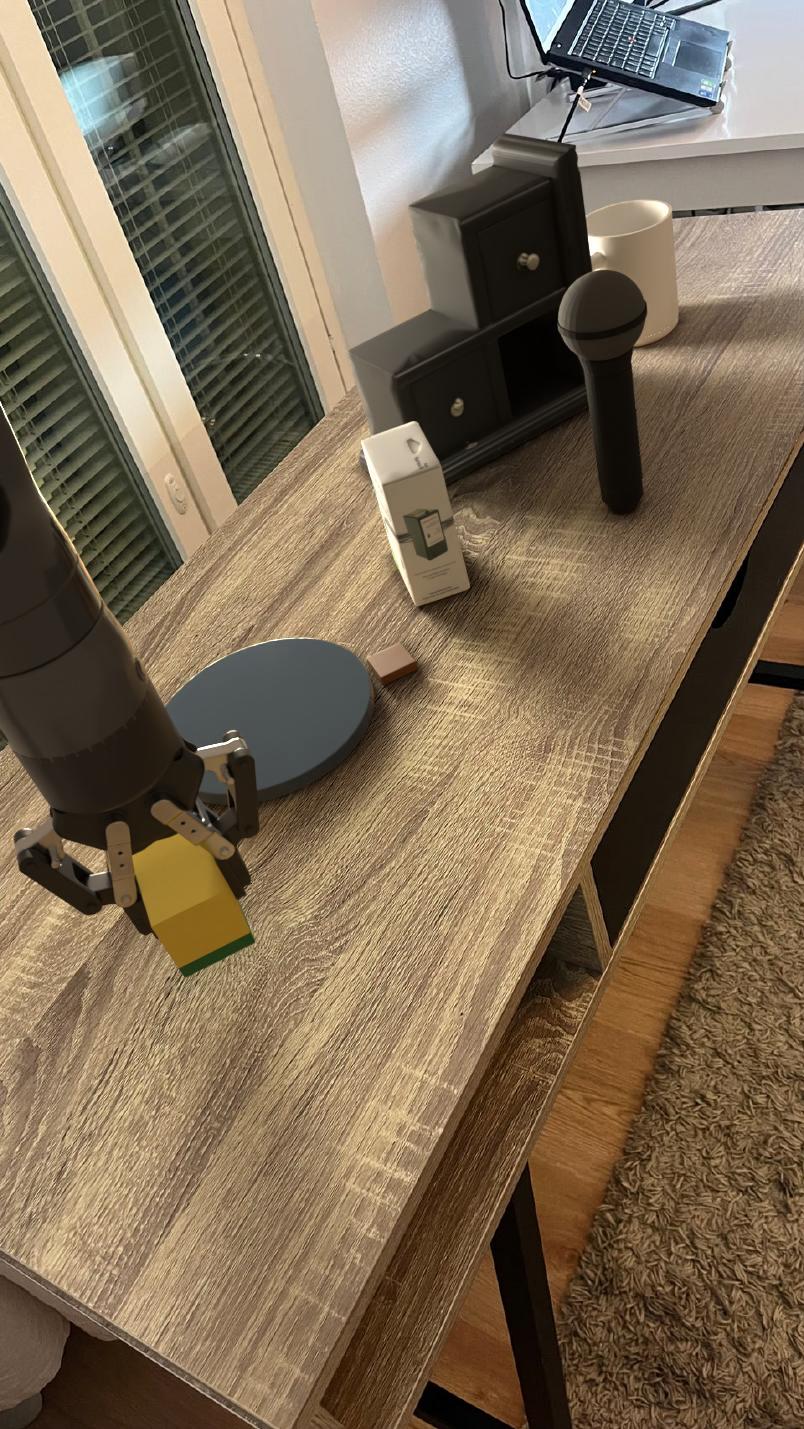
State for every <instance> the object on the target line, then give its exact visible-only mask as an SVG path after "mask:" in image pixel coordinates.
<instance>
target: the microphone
mask: <svg viewBox="0 0 804 1429" xmlns="http://www.w3.org/2000/svg"><path fill="white" fill-rule="evenodd" d="M647 313H648V312H647V304H646V301H645V300H644V297H643V295H642V293H641V290H640V289H639V288H638V286H637V285H636V284H635V282H634V281H633V280H631V279H630V278H629V277H628V276H626V275H624V274H622V273H620V272H617V271H613V270H596V271H592V272H589V273H587V274H585V275H583V276H582V277H580V278H579V279H577V280H576V281H575V282H574V283H573V284H572V285H571V286H570V287H569V289H568V290H567V292H566V293H565V295H564V297H563V299H562V302H561V305H560V308H559V314H558V319H557V324H558V330H559V332H560V334H561V336H562V338H563V340H564V342H565V343H566V345H567V346H568V347H569V348H570V350H571V351H573V352H574V353H575V354H577V355H578V357H579V360H580V362H581V364H582V366H583V369H584V374H585V382H586V390H587V397H588V405H589V407H588V411H589V412H588V413H589V420H590V427H591V435H592V442H593V449H594V457H595V464H596V472H597V481H598V485H599V490H600V498H601V502H602V503H603V504H604V505H605V507H607V509H608V510H609V511H610V512H611V513H612V514H613V515H616V516H627V515H630V514H632V513H634V512H635V511H636V510H637V509H638V507H639V505H640V503H641V501H642V499H643V497H644V496H645V491H644V480H643V479H644V474H643V463H642V454H641V445H640V444H641V443H640V435H639V423H638V414H637V404H636V393H635V383H634V373H633V364H632V363H633V362H632V360H633V352H634V348H635V347H634V345H635V343H636V342H637V340H638V339H639V337H640V336H641V333H642V331H643V328H644V324H645V320H646V317H647Z"/></svg>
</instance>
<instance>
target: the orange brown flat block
mask: <svg viewBox="0 0 804 1429" xmlns="http://www.w3.org/2000/svg"><path fill="white" fill-rule="evenodd" d="M366 662H367V665H368V667H369V668H370V670H371V671H372V672H373V673H374V675H375V676H376V678H377V679H378V680H379V682H380V684H382V686H385V685H387V684H390V683H391V682H394V681H395V680H398V679H400V678H402V677H404V676H406V675H408V674H411V673H412V672H415V671H417V670H419V667H418V663H417V660H416V659H415V658H414V656H413V655H412V654H411V653H410V652H409V650H408V649H407V648H406V647H405V646H404V644H403V643H402V642H401V641H399V642H397V643H395V644H393V645H391V646H388V647H386V648H385V649H383V650H380V651H377V652H376V653H374V654H372V655H370V656H368V657H366Z"/></svg>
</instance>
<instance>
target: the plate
mask: <svg viewBox="0 0 804 1429" xmlns="http://www.w3.org/2000/svg"><path fill="white" fill-rule="evenodd" d="M375 703H376V698H375V689H374V686H373V682H372V680H371V676H370V673H369V671H368V669H367V667H366V666H365V664H364V663H363V661H362V660H361V659H360V658H359V657H358V656H357V655H356V654H355V653H353V652H352V651H351V650H349V649H348V648H346V647H344V646H342V645H340V644H337V643H335V642H332V641H328V640H324V639H319V638H313V637H312V638H311V637H289V638H288V637H287V638H280V639H279V638H278V639H273V640H268V641H264V642H259V643H256V644H252V645H250V646H247V647H244V648H241V649H238V650H236V651H234V652H231V653H229V654H227V655H225V656H223V657H221V658H219V659H217V660H216V661H214V662H212V663H211V664H209V665H207V666H205V667H204V668H203V669H201V670H200V671H199V672H197V673H196V674H195V675H193V676H192V677H191V678H189V679H188V680H187V681H186V682H185V683H184V684H183V685H182V686H181V687H180V688H179V689H178V690H177V691H176V693H174V695H173V696H172V697H171V698H170V700H169V701H168V702H167V704H166V705H165V708H166V710H167V712H168V713H169V715H170V717H171V719H172V721H173V723H174V725H175V727H176V729H177V730H178V732H179V734H180V735H181V736H182V737H183V738H184V739H185V740H187V741H189V742H191V743H193V744H194V745H195V746H196V747H197V748H198V749H199V748H204V747H208V746H213V745H217V744H222V737H223V736H224V735H225V734H226V733H227V732H229V731H233V730H236V731H239V732H240V733H241V734H242V736H243V738H244V740H245V742H246V744H247V746H248V748H249V750H250V752H251V754H252V756H253V758H254V760H255V771H256V784H257V797H258V803H262V802H267V801H272V800H274V799H277V798H280V797H284V796H287V795H289V794H291V793H294V792H296V791H298V790H301V789H303V788H305V787H307V786H309V785H310V784H312V783H314V782H316V781H317V780H319V779H321V778H322V777H324V776H325V775H327V774H328V773H329V772H331V771H333V769H335V768H336V767H337V766H338V765H340V764H341V763H342V762H343V761H344V760H345V759H346V758H347V757H348V756H349V755H350V754H351V753H352V752H353V750H354V749H355V748H356V747H357V746H358V745H359V743H360V742H361V740H362V739H363V737H364V736H365V734H366V732H367V731H368V728H369V726H370V724H371V721H372V719H373V714H374V711H375ZM198 797H199V798H200V799H201V801H202V802H203V803H206V804H211V805H219V806H228V801H227V791H226V783H222V782H220V781H219V780H218V779H217V777H216V775H215V773H213V772H211V771H205V773H204V776H203V779H202V783H201V786H200V789H199V792H198Z"/></svg>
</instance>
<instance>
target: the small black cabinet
mask: <svg viewBox="0 0 804 1429" xmlns="http://www.w3.org/2000/svg"><path fill="white" fill-rule="evenodd" d="M491 151H492V152H491V156H492V159H493V164H492V165H491V166H488V167H486V168H484V169H482V170H479V171H478V172H475V173H473V174H472V175H469V176H467V177H464V178H463V179H460V180H458V181H456V182H454V183H452V184H449V185H448V186H446V187H444V188H441V189H439V190H437V191H435V192H433V193H430V194H428V195H426V196H424V197H421V198H420V199H418V200H416V201H415V200H414V201H413V202H411V203H409V204H408V205H407V211H408V216H409V221H410V225H411V226H410V227H411V229H412V230H411V231H412V235H413V239H414V243H415V248H416V253H417V255H418V260H419V265H420V269H421V272H422V278H423V282H424V286H425V290H426V295H427V296H426V297H427V300H428V304H429V309H427V310H425V311H422V312H421V313H419V314H418V315H416V316H413V317H411V318H409V319H407V320H405V321H403V322H401V323H399V324H397V325H395V326H394V327H391V328H389V329H387V330H386V331H384V332H381V333H379V334H377V335H376V336H373V337H371V338H370V339H368V340H365V341H364V342H361V343H360V344H357V345H355V346H354V347H352V348H350V349H348V350H347V351H346V353H347V358H348V362H349V365H350V367H351V372H352V375H353V379H354V383H355V386H356V389H357V392H358V396H359V399H360V401H361V405H362V406H361V407H362V409H363V412H364V416H365V419H366V422H367V423H366V424H367V425H368V429H369V432H370V436H372V435H375V434H378V433H381V432H384V431H387V430H390V429H393V428H396V427H398V426H401V425H404V424H407V423H409V422H413V421H414V422H415V421H416V422H417V423H419V426H420V428H421V430H422V431H423V433H424V435H425V437H426V439H427V441H428V442H429V444H430V446H431V448H432V450H433V452H434V454H435V455H436V457H437V459H438V460H439V463H440V465H441V468H442V472H443V476H444V480H445V484H446V486H448V485H449V484H451V483H453V482H454V481H456V480H458V479H461V478H462V477H463V476H466V475H468V474H469V473H472V472H473V471H475V470H476V469H478V468H480V467H482V466H484V465H486V464H487V463H489V462H491V461H493V460H494V459H497V458H498V457H500V456H502V455H504V454H505V453H508V452H509V451H511V450H513V449H515V448H517V447H518V446H520V445H522V444H523V443H525V442H527V441H529V440H530V439H533V438H534V437H536V436H538V435H540V434H541V433H544V432H545V431H547V430H549V429H551V428H552V427H555V426H556V425H558V424H559V423H561V422H563V421H565V420H567V419H569V418H570V417H572V416H574V415H576V414H578V413H580V412H581V411H584V410H585V409H587V408H589V405H588V397H587V390H586V382H585V374H584V369H583V366H582V364H581V362H580V360H579V357H578V355H577V354H575V353H574V352H573V351H571V350H570V348H569V347H568V346H567V345H566V343H565V342H564V340H563V338H562V336H561V334H560V332H559V330H558V324H557V319H558V314H559V308H560V305H561V302H562V299H563V297H564V295H565V293H566V292H567V290H568V289H569V287H570V286H571V285H572V284H573V283H574V282H575V281H576V280H577V279H579V278H580V277H582V276H583V275H585V274H587V273H589V272H592V271H593V270H592V262H591V255H590V247H589V239H588V230H587V222H586V215H587V214H586V208H585V201H584V192H583V184H582V176H581V171H580V169H579V165H578V162H579V156H578V153H577V152H578V151H577V145H576V144H573V143H566V142H560V141H555V140H549V139H544V138H536V137H531V136H527V135H520V134H513V133H506V132H504V133H502V134H499V135H498V136H497V139H496V140H494V142H493V144H492V147H491ZM358 465H359V467H360V468H361V469H363V470H364V471H366V472H367V473H369V474H370V472H369V469H368V465H367V462H366V458H365V454H364V451H363V448H361V449H360V450H359V453H358Z"/></svg>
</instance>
